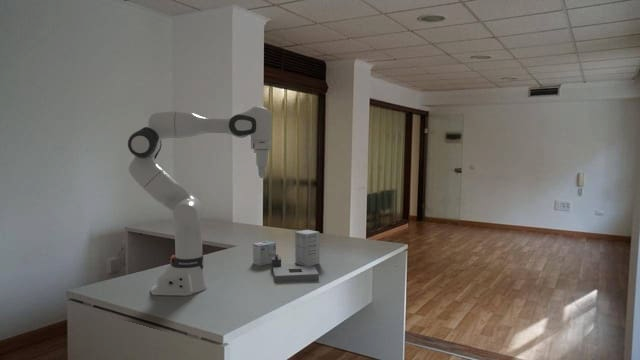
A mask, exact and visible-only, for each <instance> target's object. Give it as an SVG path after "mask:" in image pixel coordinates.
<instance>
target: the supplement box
mask: <svg viewBox="0 0 640 360" xmlns="http://www.w3.org/2000/svg"><path fill="white" fill-rule="evenodd" d="M294 233H295V234H294V235H295V238H294V239H295V240H294V242H295V243H294V244H295V247H294V248H295V251H294V252H295V253H294V255H295V259H294V260H295V261H294V263H295V264H297V265H299V266H315V265H318V264H320V260H321V259H320V235H321V234H320V231H316V230H311V229H303V230H298V231H295V232H294Z"/></svg>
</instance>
